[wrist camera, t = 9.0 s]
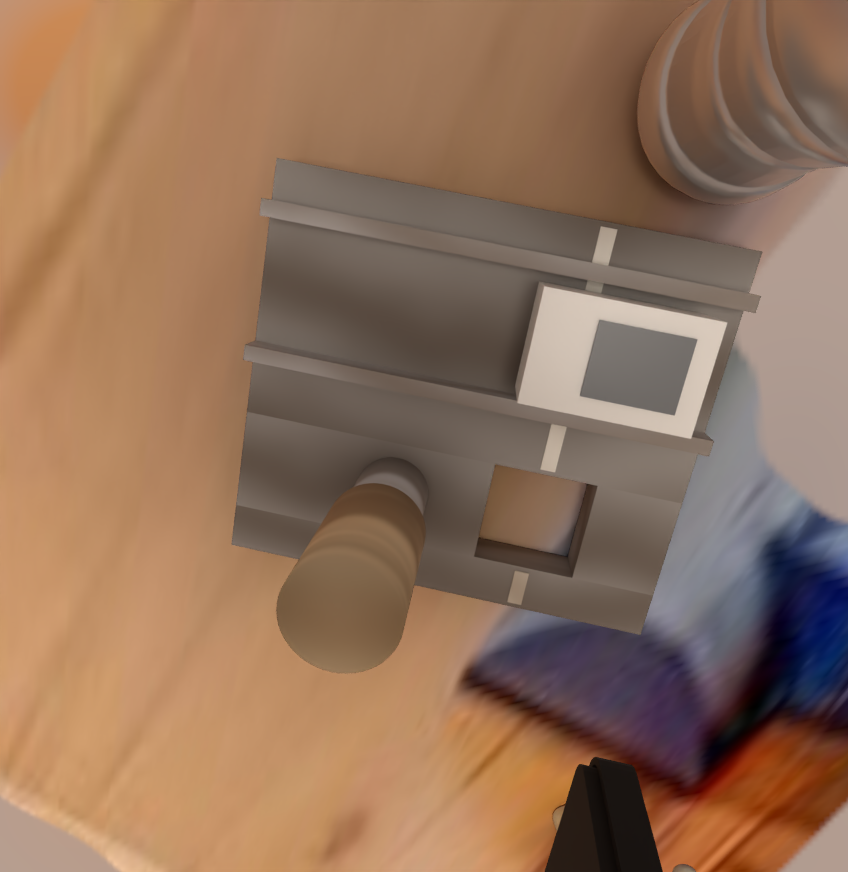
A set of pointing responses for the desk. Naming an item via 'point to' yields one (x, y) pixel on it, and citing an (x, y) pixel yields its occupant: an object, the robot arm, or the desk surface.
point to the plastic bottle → (747, 97)
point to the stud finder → (617, 359)
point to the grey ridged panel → (462, 381)
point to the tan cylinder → (358, 572)
